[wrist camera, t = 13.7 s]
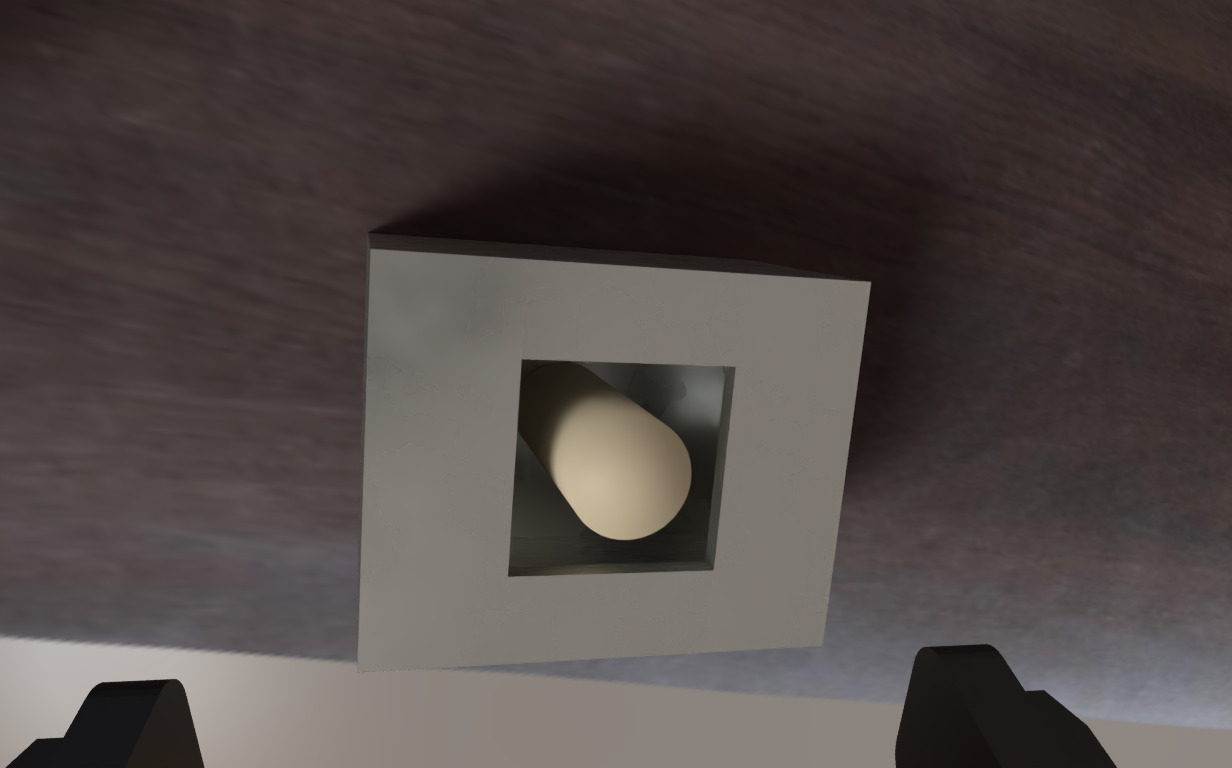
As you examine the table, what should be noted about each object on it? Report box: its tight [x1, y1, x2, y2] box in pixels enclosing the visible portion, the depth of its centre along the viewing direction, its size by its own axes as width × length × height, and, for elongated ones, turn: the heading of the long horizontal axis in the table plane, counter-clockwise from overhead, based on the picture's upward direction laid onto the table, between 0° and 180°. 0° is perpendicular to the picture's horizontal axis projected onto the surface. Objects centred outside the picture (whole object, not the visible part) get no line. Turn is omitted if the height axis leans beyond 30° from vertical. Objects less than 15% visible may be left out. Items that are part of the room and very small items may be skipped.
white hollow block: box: [357, 233, 871, 673], centre depth 34 cm, size 16×13×10 cm
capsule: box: [517, 362, 691, 540], centre depth 33 cm, size 4×4×10 cm
